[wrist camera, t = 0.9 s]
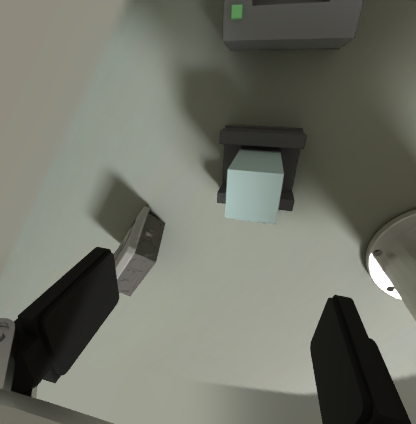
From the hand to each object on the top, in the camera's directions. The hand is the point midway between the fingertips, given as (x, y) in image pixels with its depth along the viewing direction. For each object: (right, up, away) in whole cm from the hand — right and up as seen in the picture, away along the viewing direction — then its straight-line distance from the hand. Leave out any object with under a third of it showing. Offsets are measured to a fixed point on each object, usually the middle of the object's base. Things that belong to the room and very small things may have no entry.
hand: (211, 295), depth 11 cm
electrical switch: (-9, 0, +26) cm, 27 cm away
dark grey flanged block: (+6, +9, +17) cm, 21 cm away
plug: (+6, +9, +17) cm, 20 cm away
